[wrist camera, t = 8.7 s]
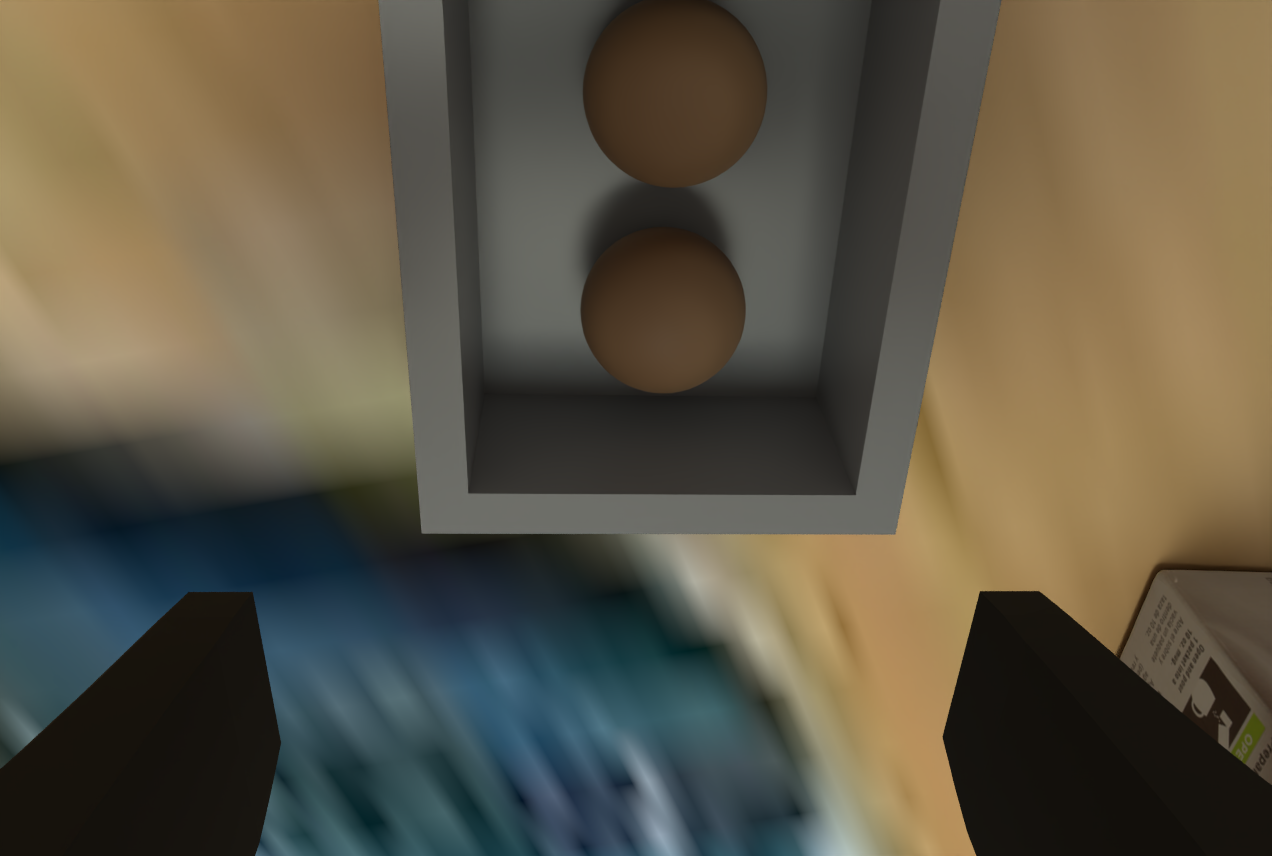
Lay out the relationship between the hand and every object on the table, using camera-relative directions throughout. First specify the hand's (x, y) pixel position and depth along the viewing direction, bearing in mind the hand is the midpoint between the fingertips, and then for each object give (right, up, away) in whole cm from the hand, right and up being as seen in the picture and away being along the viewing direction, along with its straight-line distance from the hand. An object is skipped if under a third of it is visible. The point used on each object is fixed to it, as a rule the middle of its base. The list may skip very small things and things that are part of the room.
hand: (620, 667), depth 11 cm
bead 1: (+1, +8, +7) cm, 11 cm away
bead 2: (0, +5, +9) cm, 10 cm away
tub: (+1, +7, +8) cm, 11 cm away
